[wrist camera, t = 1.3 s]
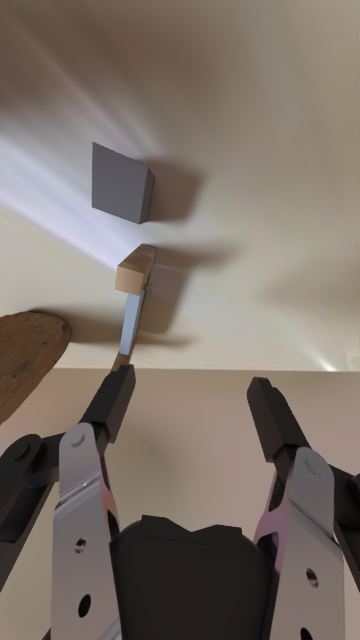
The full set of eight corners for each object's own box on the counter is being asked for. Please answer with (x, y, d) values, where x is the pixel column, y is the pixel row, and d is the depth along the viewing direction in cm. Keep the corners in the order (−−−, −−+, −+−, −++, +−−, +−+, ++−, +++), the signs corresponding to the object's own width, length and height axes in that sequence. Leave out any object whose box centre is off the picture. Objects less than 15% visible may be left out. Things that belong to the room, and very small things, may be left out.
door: (128, 330, 33) (118, 353, 28) (140, 263, 25) (130, 276, 20) (141, 333, 33) (134, 356, 28) (157, 268, 26) (152, 283, 20)
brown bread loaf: (77, 321, 32) (-28, 437, 16) (73, 345, 36) (-15, 459, 19) (14, 300, 29) (-196, 416, 13) (17, 329, 33) (-142, 447, 16)
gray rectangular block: (111, 208, 22) (91, 207, 17) (114, 160, 19) (92, 141, 14) (147, 221, 23) (138, 224, 18) (154, 177, 20) (148, 166, 15)
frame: (124, 342, 36) (104, 392, 26) (141, 243, 24) (117, 265, 14) (134, 344, 36) (119, 394, 26) (156, 249, 25) (143, 273, 15)
